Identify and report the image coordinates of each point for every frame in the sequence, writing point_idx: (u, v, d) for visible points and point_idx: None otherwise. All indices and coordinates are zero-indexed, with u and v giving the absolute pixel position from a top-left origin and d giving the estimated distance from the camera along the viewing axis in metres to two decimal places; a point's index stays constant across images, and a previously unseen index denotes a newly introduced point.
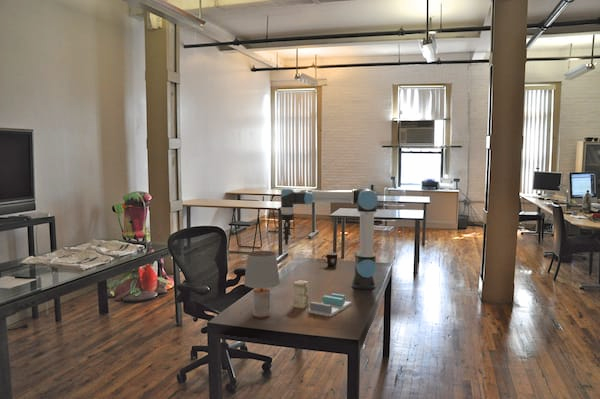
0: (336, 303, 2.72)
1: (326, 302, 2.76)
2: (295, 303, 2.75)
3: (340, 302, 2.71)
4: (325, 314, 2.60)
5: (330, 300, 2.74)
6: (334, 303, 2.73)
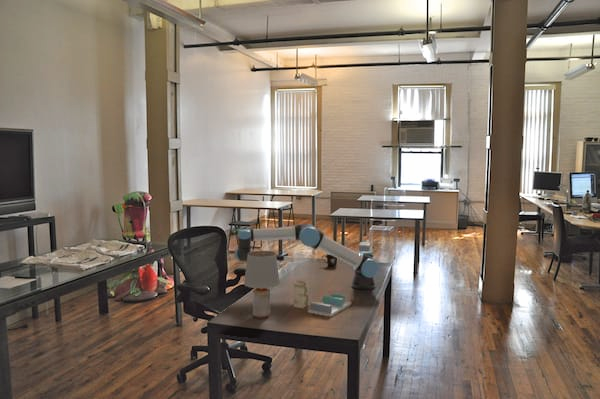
0: (336, 303, 2.72)
1: (326, 302, 2.76)
2: (295, 303, 2.75)
3: (340, 302, 2.71)
4: (325, 314, 2.60)
5: (330, 300, 2.74)
6: (334, 303, 2.73)
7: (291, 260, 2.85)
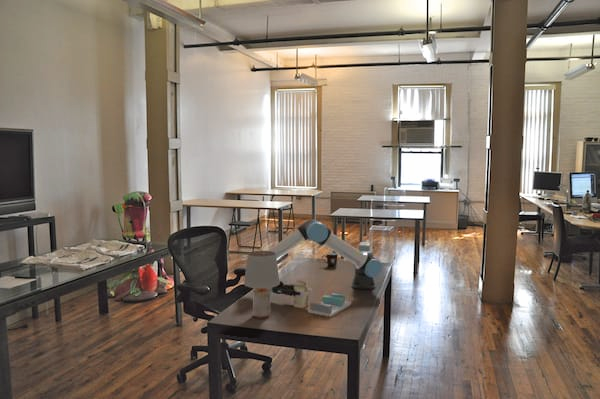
0: (336, 303, 2.72)
1: (326, 302, 2.76)
2: (295, 303, 2.75)
3: (340, 302, 2.71)
4: (325, 314, 2.60)
5: (330, 300, 2.74)
6: (334, 303, 2.73)
7: (310, 291, 2.76)
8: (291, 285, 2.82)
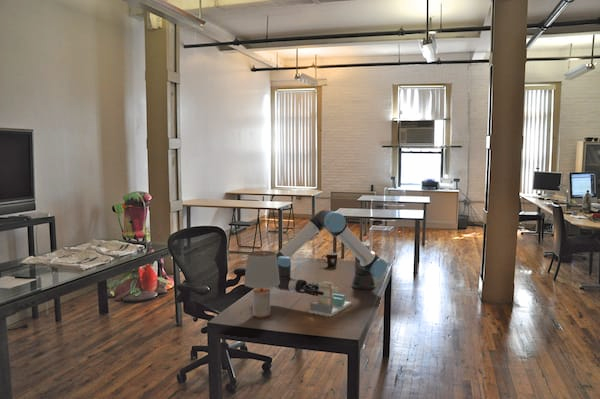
0: (336, 303, 2.72)
1: None
2: None
3: (340, 302, 2.71)
4: (325, 314, 2.60)
5: None
6: (334, 303, 2.73)
7: (335, 290, 2.69)
8: (315, 284, 2.74)
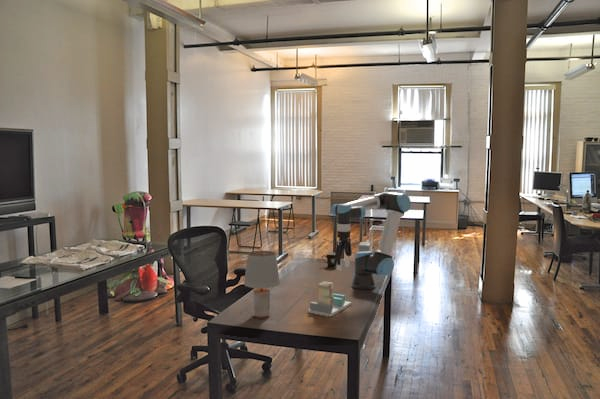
0: (336, 303, 2.72)
1: None
2: None
3: (340, 302, 2.71)
4: (325, 314, 2.60)
5: None
6: (334, 303, 2.73)
7: (346, 265, 2.88)
8: (348, 245, 2.85)
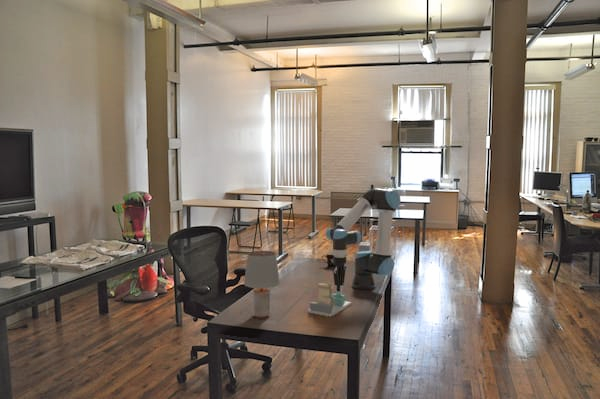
0: (336, 303, 2.72)
1: None
2: None
3: (340, 302, 2.71)
4: (325, 314, 2.60)
5: None
6: (334, 303, 2.73)
7: None
8: (343, 273, 2.81)
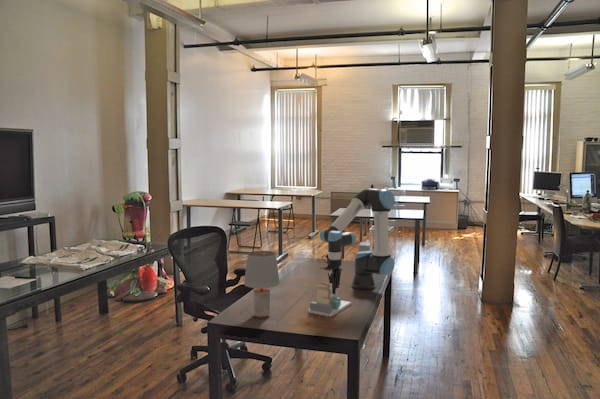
0: (332, 306, 2.68)
1: None
2: None
3: (335, 305, 2.66)
4: (325, 314, 2.60)
5: None
6: None
7: None
8: (338, 275, 2.76)
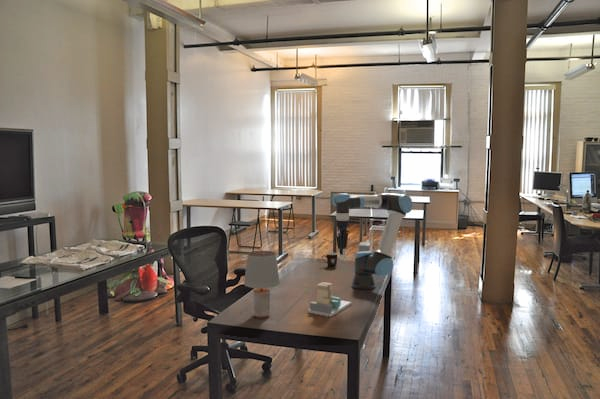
0: (332, 306, 2.68)
1: None
2: None
3: (335, 305, 2.66)
4: (325, 314, 2.60)
5: None
6: None
7: None
8: (346, 236, 2.85)
